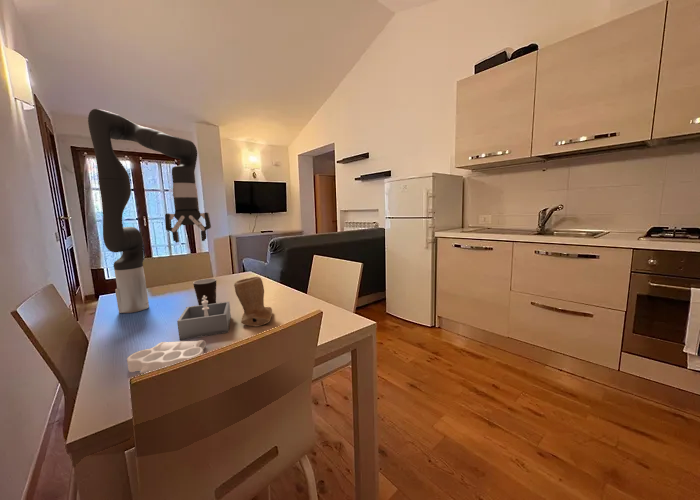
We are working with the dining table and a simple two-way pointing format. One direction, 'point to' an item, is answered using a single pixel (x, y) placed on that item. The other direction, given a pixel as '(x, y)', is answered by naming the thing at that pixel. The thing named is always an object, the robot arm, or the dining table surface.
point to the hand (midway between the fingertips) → (190, 241)
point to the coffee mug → (205, 290)
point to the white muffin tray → (164, 355)
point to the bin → (204, 321)
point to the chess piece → (205, 306)
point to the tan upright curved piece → (252, 301)
